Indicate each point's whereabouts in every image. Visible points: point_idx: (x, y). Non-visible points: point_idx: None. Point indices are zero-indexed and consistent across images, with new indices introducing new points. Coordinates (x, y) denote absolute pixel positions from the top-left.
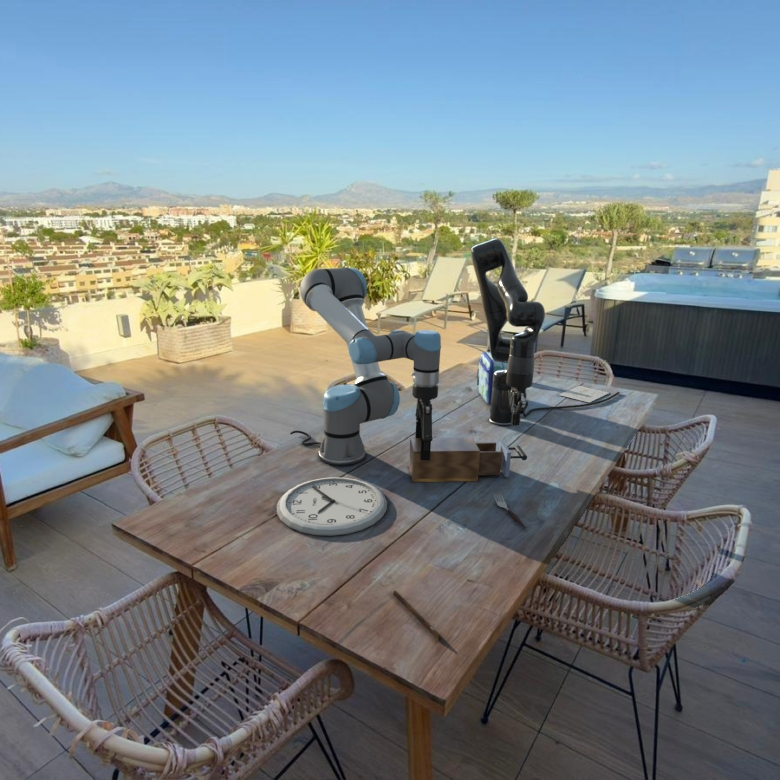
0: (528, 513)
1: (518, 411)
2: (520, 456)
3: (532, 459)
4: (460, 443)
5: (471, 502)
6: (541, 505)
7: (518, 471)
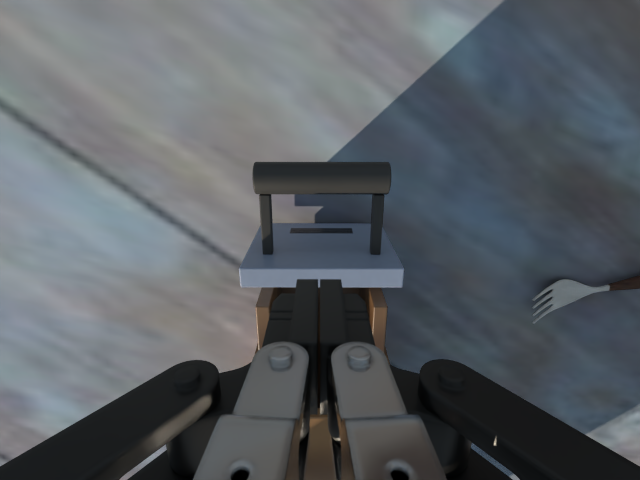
0: (630, 221)
1: (469, 457)
2: (382, 199)
3: (175, 44)
4: (313, 474)
5: (514, 369)
6: (595, 156)
7: (307, 157)
